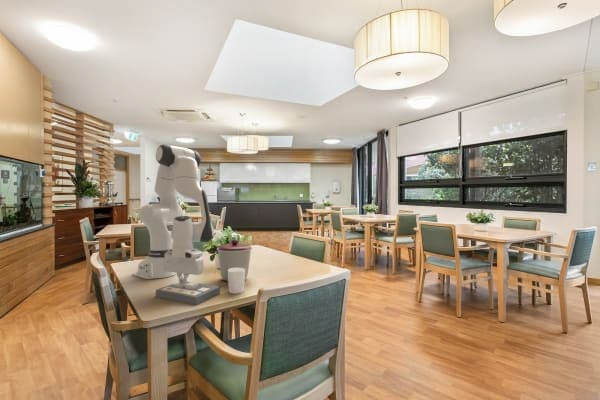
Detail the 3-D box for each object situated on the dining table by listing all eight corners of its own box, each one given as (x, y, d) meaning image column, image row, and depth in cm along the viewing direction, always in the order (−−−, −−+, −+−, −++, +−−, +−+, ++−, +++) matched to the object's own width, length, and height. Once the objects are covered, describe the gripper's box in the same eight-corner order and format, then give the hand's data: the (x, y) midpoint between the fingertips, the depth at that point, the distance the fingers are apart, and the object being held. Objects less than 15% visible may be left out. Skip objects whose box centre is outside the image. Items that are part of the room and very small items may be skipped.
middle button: (184, 290, 129) (185, 284, 129) (191, 287, 133) (191, 281, 133) (192, 291, 128) (192, 285, 128) (198, 288, 131) (198, 283, 131)
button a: (173, 289, 132) (173, 283, 131) (180, 286, 135) (180, 281, 135) (180, 290, 130) (180, 284, 130) (187, 287, 134) (187, 282, 134)
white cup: (246, 288, 139) (246, 267, 139) (243, 294, 131) (243, 272, 131) (229, 288, 138) (229, 267, 138) (225, 294, 131) (226, 271, 130)
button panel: (155, 297, 125) (155, 289, 125) (181, 286, 139) (181, 279, 139) (196, 304, 117) (196, 296, 117) (219, 293, 131) (220, 285, 131)
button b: (196, 295, 127) (196, 289, 127) (202, 292, 130) (203, 287, 130) (204, 296, 125) (204, 291, 125) (210, 294, 129) (210, 288, 129)
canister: (243, 285, 143) (244, 242, 143) (209, 282, 147) (210, 240, 147) (256, 275, 161) (257, 237, 161) (226, 273, 165) (226, 236, 164)
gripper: (159, 251, 133) (159, 282, 133) (196, 255, 126) (196, 286, 126) (169, 249, 139) (170, 278, 139) (205, 252, 132) (205, 282, 132)
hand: (182, 282), depth 133 cm, fingers closed
